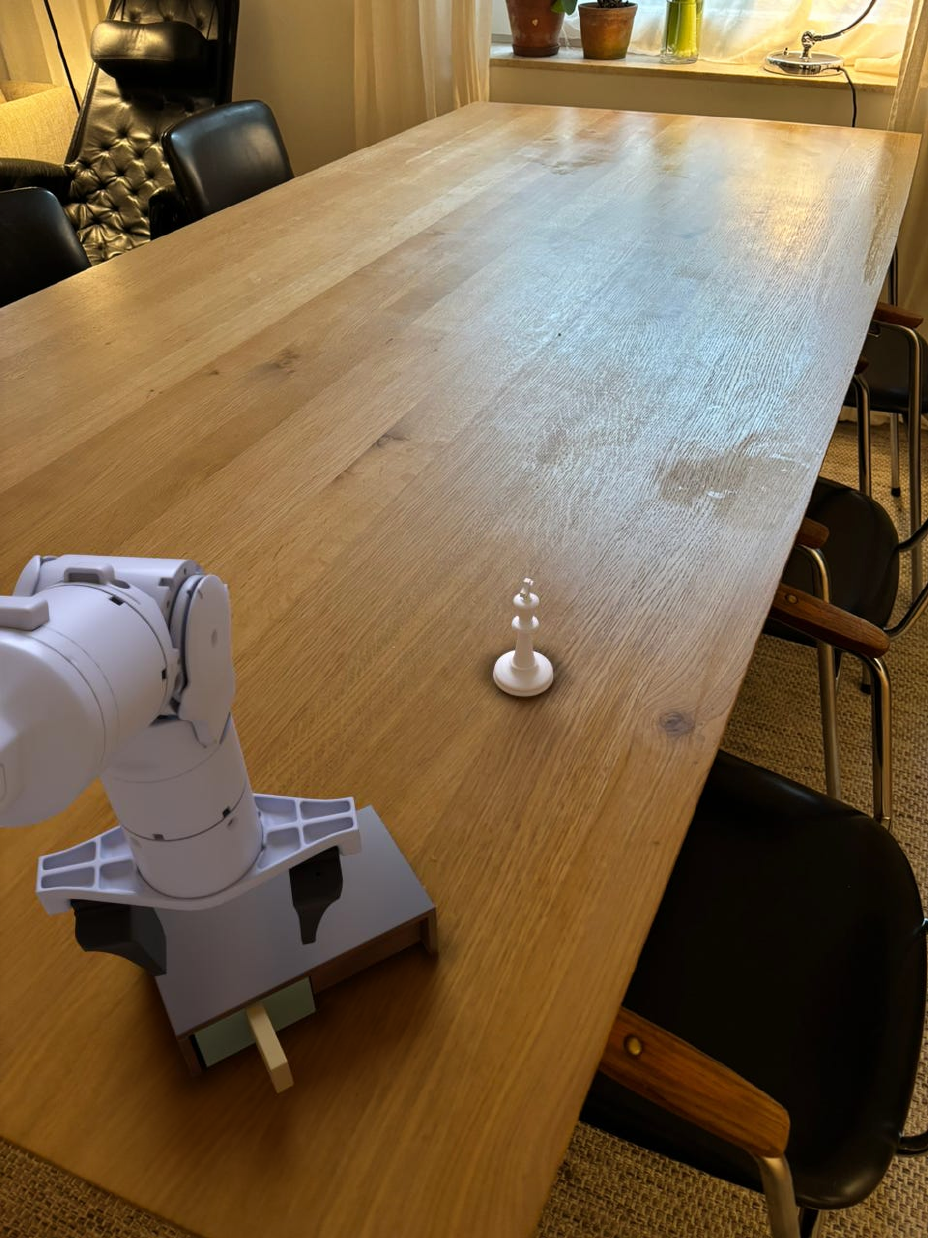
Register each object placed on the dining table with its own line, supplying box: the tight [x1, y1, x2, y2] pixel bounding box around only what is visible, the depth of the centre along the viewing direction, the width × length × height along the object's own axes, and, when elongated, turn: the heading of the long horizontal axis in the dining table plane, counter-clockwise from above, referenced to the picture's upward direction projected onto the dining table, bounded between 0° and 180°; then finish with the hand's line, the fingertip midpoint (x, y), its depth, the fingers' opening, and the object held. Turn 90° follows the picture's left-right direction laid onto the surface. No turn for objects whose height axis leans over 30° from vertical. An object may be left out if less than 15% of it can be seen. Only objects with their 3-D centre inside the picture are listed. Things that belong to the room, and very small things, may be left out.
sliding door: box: [193, 977, 316, 1094], centre depth 56 cm, size 7×5×4 cm
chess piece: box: [492, 577, 554, 697], centre depth 78 cm, size 5×5×10 cm
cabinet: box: [153, 804, 439, 1079], centre depth 61 cm, size 16×9×5 cm, turn 120°
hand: (234, 942), depth 52 cm, fingers open, 7 cm apart
